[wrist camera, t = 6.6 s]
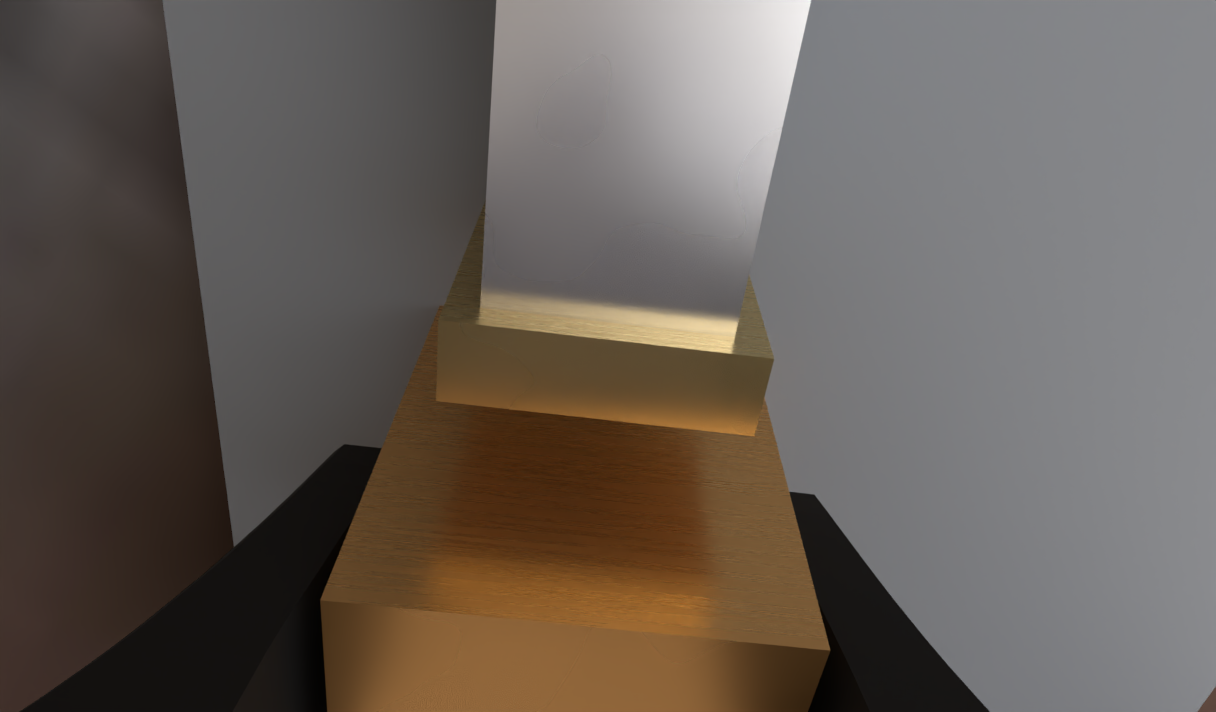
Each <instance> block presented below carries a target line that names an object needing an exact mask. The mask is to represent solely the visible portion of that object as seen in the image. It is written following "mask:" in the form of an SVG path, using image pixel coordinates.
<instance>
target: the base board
mask: <svg viewBox="0 0 1216 712" xmlns="http://www.w3.org/2000/svg"><path fill="white" fill-rule="evenodd" d="M163 8H164V16H165V23H166V31H167V39H168V46H169V54H170V62H171V69H172V77H173V84H174V92H175V100H176V107H177V115H178V123H179V130H180V138H181V146H182V153H183V161H184V169H185V176H186V184H187V191H188V199H189V207H190V214H191V222H192V230H193V237H194V245H195V253H196V260H197V268H198V276H199V283H200V291H201V298H202V306H203V314H204V321H205V329H206V337H207V344H208V352H209V360H210V367H211V375H212V383H213V390H214V398H215V405H216V413H217V421H218V428H219V436H220V444H221V451H222V459H223V467H224V474H225V482H226V490H227V497H228V505H229V512H230V520H231V528H232V535H233V543H234V547H235V546H236V545H237V544H238V543H239V542H240V541H241V540H242V539H243V538H245V537H246V536H247V535H248V534H249V533H250V532H251V531H252V530H253V529H255V528H256V527H257V526H258V525H259V524H260V523H261V522H262V521H263V520H265V519H266V518H267V517H268V516H269V515H270V514H271V513H272V512H273V511H274V510H275V509H276V508H277V507H278V506H279V505H280V504H281V503H282V502H283V501H285V500H286V499H287V498H288V497H289V496H290V495H291V494H292V493H293V492H294V491H295V490H296V489H297V488H298V487H299V486H300V485H301V484H302V483H303V482H304V481H305V480H306V479H307V478H308V477H309V476H310V475H311V474H312V473H313V472H314V471H315V470H316V469H317V468H318V467H319V466H320V465H321V464H322V463H323V462H324V461H325V460H326V459H327V458H328V457H329V456H330V455H331V454H332V453H333V452H334V451H336V450H337V449H338V448H340V447H341V446H342V445H344V444H349V445H358V446H367V447H377V448H382V447H383V444H384V442H385V439H386V437H387V434H388V432H389V429H390V427H391V424H392V422H393V419H394V417H395V414H396V412H397V410H398V407H399V405H400V402H401V400H402V397H403V395H404V392H405V390H406V387H407V385H408V382H409V380H410V377H411V375H412V373H413V370H414V368H415V365H416V363H417V360H418V358H419V355H420V353H421V350H422V348H423V345H424V343H425V341H426V338H427V336H428V333H429V331H430V328H431V326H432V323H433V321H434V318H435V316H436V313H437V311H438V308H439V306H444V304H445V302H446V299H447V297H448V294H449V292H450V289H451V287H452V284H453V281H454V279H455V276H456V274H457V271H458V269H459V266H460V264H461V261H462V259H463V256H464V254H465V251H466V249H467V246H468V243H469V241H470V238H471V236H472V233H473V231H474V228H475V226H476V223H477V221H478V218H479V216H480V213H481V211H482V208H483V205H484V203H485V200H486V187H487V169H488V150H489V131H490V112H491V93H492V74H493V56H494V37H495V18H496V0H163ZM749 275H750V279H751V282H752V285H753V289H754V292H755V295H756V299H757V302H758V305H759V309H760V312H761V316H762V319H763V322H764V326H765V329H766V332H767V336H768V339H769V342H770V346H771V349H772V353H773V356H774V362H773V366H772V370H771V374H770V378H769V381H768V385H767V389H766V393H765V401H766V405H767V408H768V412H769V416H770V420H771V424H772V428H773V432H774V435H775V439H776V443H777V447H778V451H779V455H780V458H781V462H782V466H783V470H784V474H785V478H786V482H787V485H788V489H789V492H797V493H806V494H814V495H815V496H816V497H817V499H818V500H819V501H820V502H821V504H822V505H823V506H824V508H825V509H826V510H827V512H828V513H829V514H830V516H831V517H832V518H833V520H834V521H835V522H836V524H837V525H838V526H839V528H840V529H841V530H842V532H843V533H844V534H845V536H846V537H847V538H848V540H849V541H850V542H851V544H852V545H853V546H854V548H855V549H856V550H857V552H858V553H859V554H860V556H861V557H862V558H863V560H864V561H865V562H866V564H867V565H868V566H869V568H870V569H871V570H872V572H873V573H874V574H875V576H876V577H877V578H878V580H879V581H880V582H881V583H882V585H883V586H884V587H885V589H886V590H887V591H888V592H889V594H890V595H891V596H892V598H893V599H894V600H895V601H896V603H897V604H898V605H899V606H900V608H901V609H902V610H903V611H904V613H905V614H906V615H907V616H908V618H909V619H910V620H911V621H912V622H913V624H914V625H915V626H916V627H917V629H918V630H919V631H920V632H921V634H922V635H923V636H924V637H925V639H926V640H927V641H928V642H929V643H930V644H931V646H932V647H933V648H934V649H935V650H936V651H937V653H938V654H939V655H940V656H941V657H942V659H943V660H944V661H945V662H946V663H947V664H948V666H949V667H950V668H951V669H952V670H953V671H954V672H955V673H956V675H957V676H958V677H959V678H960V679H961V680H962V681H963V682H964V683H965V685H966V686H967V687H968V688H969V689H970V690H971V691H972V692H973V693H974V695H975V696H976V697H977V698H978V699H979V700H980V701H981V702H982V703H983V705H984V706H985V707H986V708H987V709H988V710H989V711H990V712H1197V711H1198V710H1199V708H1200V707H1201V706H1202V704H1203V703H1204V702H1205V700H1206V699H1207V697H1208V696H1209V695H1210V693H1211V692H1212V690H1213V689H1214V688H1215V686H1216V0H811V3H810V8H809V12H808V17H807V21H806V25H805V30H804V34H803V39H802V43H801V48H800V52H799V56H798V61H797V65H796V70H795V74H794V78H793V83H792V87H791V92H790V96H789V101H788V105H787V109H786V114H785V118H784V123H783V127H782V131H781V136H780V140H779V145H778V149H777V153H776V158H775V162H774V167H773V171H772V176H771V180H770V184H769V189H768V193H767V198H766V202H765V206H764V211H763V215H762V220H761V224H760V229H759V233H758V237H757V242H756V246H755V251H754V255H753V259H752V264H751V268H750V273H749Z"/></svg>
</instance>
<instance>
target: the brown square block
mask: <svg viewBox="0 0 1216 712" xmlns="http://www.w3.org/2000/svg"><path fill="white" fill-rule="evenodd" d="M443 307H444V306H439V308H438V311H437V313H436V316H435V318H434V321H433V323H432V326H431V328H430V331H429V333H428V336H427V338H426V341H425V343H424V345H423V348H422V350H421V353H420V355H419V358H418V360H417V363H416V365H415V368H414V370H413V373H412V375H411V377H410V380H409V382H408V385H407V387H406V390H405V392H404V395H403V397H402V400H401V402H400V405H399V407H398V410H397V412H396V414H395V417H394V419H393V422H392V424H391V427H390V429H389V432H388V434H387V437H386V439H385V442H384V444H383V447H382V449H381V451H380V454H379V456H378V459H377V461H376V464H375V466H374V469H373V471H372V474H371V476H370V479H369V481H368V483H367V486H366V488H365V491H364V493H363V496H362V498H361V501H360V503H359V506H358V508H357V511H356V513H355V516H354V518H353V520H352V523H351V525H350V528H349V530H348V533H347V535H346V538H345V540H344V543H343V545H342V548H341V550H340V552H339V555H338V557H337V560H336V562H335V565H334V567H333V570H332V572H331V575H330V577H329V580H328V582H327V585H326V587H325V589H324V592H323V594H322V597H321V599H320V605H321V621H322V636H323V652H324V668H325V684H326V699H327V712H808V710H809V707H810V705H811V702H812V699H813V696H814V694H815V691H816V688H817V686H818V683H819V680H820V677H821V675H822V672H823V669H824V667H825V664H826V661H827V659H828V656H829V653H830V647H829V643H828V639H827V635H826V631H825V628H824V624H823V620H822V616H821V612H820V608H819V605H818V601H817V597H816V593H815V589H814V585H813V581H812V578H811V574H810V570H809V566H808V562H807V558H806V555H805V551H804V547H803V543H802V539H801V535H800V532H799V528H798V524H797V520H796V516H795V512H794V508H793V505H792V501H791V497H790V493H789V489H788V485H787V482H786V478H785V474H784V470H783V466H782V462H781V458H780V455H779V451H778V447H777V443H776V439H775V435H774V432H773V428H772V424H771V420H770V416H769V412H768V408H767V405H766V401H765V397H764V401H763V405H762V409H761V413H760V416H759V420H758V424H757V428H756V432H755V436H749V435H739V434H730V433H721V432H712V431H703V430H694V429H685V428H676V427H667V426H658V425H649V424H639V423H630V422H621V421H612V420H603V419H594V418H585V417H576V416H567V415H558V414H549V413H539V412H530V411H521V410H512V409H503V408H494V407H485V406H476V405H467V404H458V403H449V402H440V401H436V388H437V349H438V320H439V317H440V314H441V312H442V309H443Z"/></svg>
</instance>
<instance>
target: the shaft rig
mask: <svg viewBox="0 0 1216 712" xmlns="http://www.w3.org/2000/svg"><path fill="white" fill-rule="evenodd" d="M810 3H811V0H496V18H495V37H494V56H493V74H492V93H491V112H490V131H489V150H488V169H487V187H486V200H485V203H484V205H483V208H482V211H481V213H480V216H479V218H478V221H477V223H476V226H475V228H474V231H473V233H472V236H471V238H470V241H469V243H468V246H467V249H466V251H465V254H464V256H463V259H462V261H461V264H460V266H459V269H458V271H457V274H456V276H455V279H454V281H453V284H452V287H451V289H450V292H449V294H448V297H447V299H446V302H445V304H444V307H443V309H442V312H441V314H440V317H439V320H438V349H437V388H436V401H440V402H449V403H458V404H467V405H476V406H485V407H494V408H503V409H512V410H521V411H530V412H539V413H549V414H558V415H567V416H576V417H585V418H594V419H603V420H612V421H621V422H630V423H639V424H649V425H658V426H667V427H676V428H685V429H694V430H703V431H712V432H721V433H730V434H739V435H749V436H755V432H756V428H757V424H758V420H759V416H760V413H761V409H762V405H763V401H764V397H765V393H766V389H767V385H768V381H769V378H770V374H771V370H772V366H773V362H774V356H773V353H772V349H771V346H770V342H769V339H768V336H767V332H766V329H765V326H764V322H763V319H762V316H761V312H760V309H759V305H758V302H757V299H756V295H755V292H754V289H753V285H752V282H751V279H750V275H749V273H750V268H751V264H752V259H753V255H754V251H755V246H756V242H757V237H758V233H759V229H760V224H761V220H762V215H763V211H764V206H765V202H766V198H767V193H768V189H769V184H770V180H771V176H772V171H773V167H774V162H775V158H776V153H777V149H778V145H779V140H780V136H781V131H782V127H783V123H784V118H785V114H786V109H787V105H788V101H789V96H790V92H791V87H792V83H793V78H794V74H795V70H796V65H797V61H798V56H799V52H800V48H801V43H802V39H803V34H804V30H805V25H806V21H807V17H808V12H809V8H810Z"/></svg>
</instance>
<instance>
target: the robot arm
mask: <svg viewBox="0 0 1216 712" xmlns="http://www.w3.org/2000/svg"><path fill="white" fill-rule="evenodd" d="M381 449H382V448H377V447H367V446H358V445H349V444H344V445H342V446H341V447H340V448H338V449H337V450H336V451H334V452H333V453H332V454H331V455H330V456H329V457H328V458H327V459H326V460H325V461H324V462H323V463H322V464H321V465H320V466H319V467H318V468H317V469H316V470H315V471H314V472H313V473H312V474H311V475H310V476H309V477H308V478H307V479H306V480H305V481H304V482H303V483H302V484H301V485H300V486H299V487H298V488H297V489H296V490H295V491H294V492H293V493H292V494H291V495H290V496H289V497H288V498H287V499H286V500H285V501H283V502H282V503H281V504H280V505H279V506H278V507H277V508H276V509H275V510H274V511H273V512H272V513H271V514H270V515H269V516H268V517H267V518H266V519H265V520H263V521H262V522H261V523H260V524H259V525H258V526H257V527H256V528H255V529H253V530H252V531H251V532H250V533H249V534H248V535H247V536H246V537H245V538H243V539H242V540H241V541H240V542H239V543H238V544H237V545H236V546H235V547H234V548H232V549H231V550H230V551H229V552H228V553H227V554H226V555H225V556H224V557H222V558H221V559H220V560H219V561H218V562H217V563H216V564H214V565H213V566H212V567H211V568H210V569H209V570H208V571H206V572H205V573H204V574H203V575H202V576H200V577H199V578H198V579H197V580H196V581H194V582H193V583H192V584H191V585H189V586H188V587H187V588H186V589H185V590H183V591H182V592H181V593H180V594H178V595H177V596H176V597H175V598H173V599H172V600H171V601H170V602H169V603H167V604H166V605H165V606H164V607H162V608H161V609H160V610H159V611H158V612H156V613H155V614H154V615H153V616H151V617H150V618H149V619H148V620H147V621H145V622H144V623H143V624H142V625H140V626H139V627H138V628H136V629H135V630H134V631H132V632H131V633H130V634H128V635H127V636H126V637H125V638H123V639H122V640H121V641H119V642H118V643H117V644H115V645H114V646H113V647H111V648H110V649H109V650H107V651H106V652H105V653H103V654H102V655H100V656H99V657H98V658H96V659H95V660H94V661H92V662H91V663H90V664H88V665H87V666H85V667H84V668H83V669H81V670H80V671H78V672H77V673H75V674H74V675H73V676H71V677H70V678H68V679H67V680H65V681H64V682H63V683H61V684H60V685H58V686H57V687H55V688H54V689H53V690H51V691H50V692H48V693H47V694H45V695H44V696H43V697H41V698H40V699H38V700H37V701H35V702H34V703H32V704H31V705H29V706H28V707H26V708H24V709H23V710H21V711H20V712H327V699H326V684H325V668H324V652H323V636H322V621H321V605H320V599H321V597H322V594H323V592H324V589H325V587H326V585H327V582H328V580H329V577H330V575H331V572H332V570H333V567H334V565H335V562H336V560H337V557H338V555H339V552H340V550H341V548H342V545H343V543H344V540H345V538H346V535H347V533H348V530H349V528H350V525H351V523H352V520H353V518H354V516H355V513H356V511H357V508H358V506H359V503H360V501H361V498H362V496H363V493H364V491H365V488H366V486H367V483H368V481H369V479H370V476H371V474H372V471H373V469H374V466H375V464H376V461H377V459H378V456H379V454H380V451H381ZM789 493H790V497H791V501H792V505H793V508H794V512H795V516H796V520H797V524H798V528H799V532H800V535H801V539H802V543H803V547H804V551H805V555H806V558H807V562H808V566H809V570H810V574H811V578H812V581H813V585H814V589H815V593H816V597H817V601H818V605H819V608H820V612H821V616H822V620H823V624H824V628H825V631H826V635H827V639H828V643H829V647H830V653H829V656H828V659H827V661H826V664H825V667H824V669H823V672H822V675H821V677H820V680H819V683H818V686H817V688H816V691H815V694H814V696H813V699H812V702H811V705H810V707H809V710H808V712H990V711H989V710H988V709H987V708H986V707H985V706H984V705H983V703H982V702H981V701H980V700H979V699H978V698H977V697H976V696H975V695H974V693H973V692H972V691H971V690H970V689H969V688H968V687H967V686H966V685H965V683H964V682H963V681H962V680H961V679H960V678H959V677H958V676H957V675H956V673H955V672H954V671H953V670H952V669H951V668H950V667H949V666H948V664H947V663H946V662H945V661H944V660H943V659H942V657H941V656H940V655H939V654H938V653H937V651H936V650H935V649H934V648H933V647H932V646H931V644H930V643H929V642H928V641H927V640H926V639H925V637H924V636H923V635H922V634H921V632H920V631H919V630H918V629H917V627H916V626H915V625H914V624H913V622H912V621H911V620H910V619H909V618H908V616H907V615H906V614H905V613H904V611H903V610H902V609H901V608H900V606H899V605H898V604H897V603H896V601H895V600H894V599H893V598H892V596H891V595H890V594H889V592H888V591H887V590H886V589H885V587H884V586H883V585H882V583H881V582H880V581H879V580H878V578H877V577H876V576H875V574H874V573H873V572H872V570H871V569H870V568H869V566H868V565H867V564H866V562H865V561H864V560H863V558H862V557H861V556H860V554H859V553H858V552H857V550H856V549H855V548H854V546H853V545H852V544H851V542H850V541H849V540H848V538H847V537H846V536H845V534H844V533H843V532H842V530H841V529H840V528H839V526H838V525H837V524H836V522H835V521H834V520H833V518H832V517H831V516H830V514H829V513H828V512H827V510H826V509H825V508H824V506H823V505H822V504H821V502H820V501H819V500H818V499H817V497H816V496H815V495H814V494H806V493H797V492H789Z"/></svg>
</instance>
